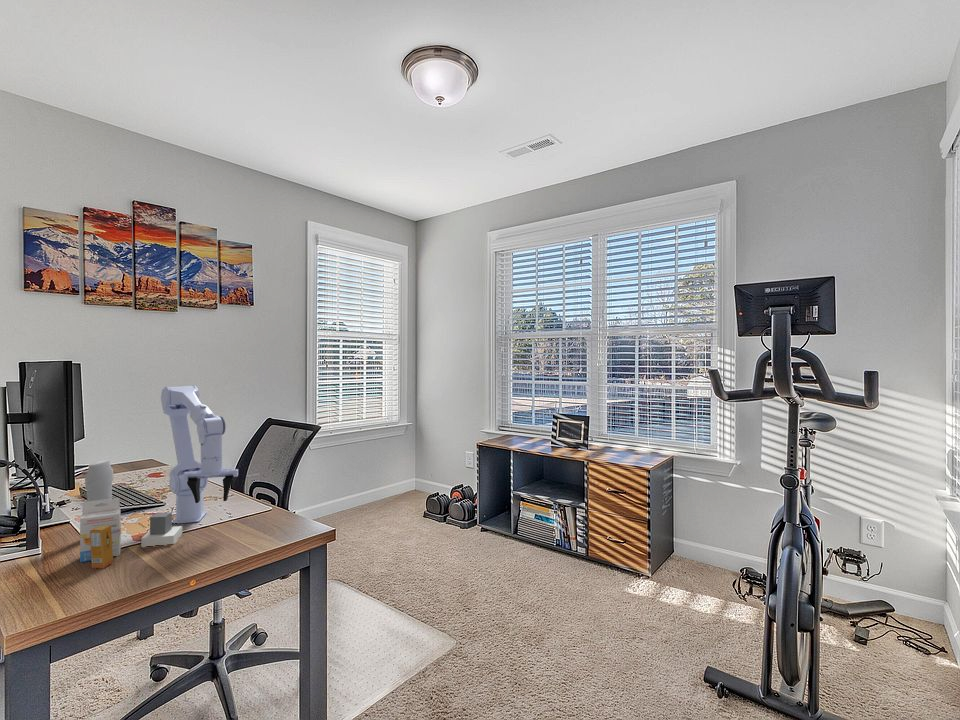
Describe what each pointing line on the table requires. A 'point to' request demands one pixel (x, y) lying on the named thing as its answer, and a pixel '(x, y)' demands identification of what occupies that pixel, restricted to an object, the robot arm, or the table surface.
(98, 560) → the supplement box
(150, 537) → the base block
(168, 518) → the charcoal block
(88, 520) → the ink box
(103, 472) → the tall pale column
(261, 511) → the table surface
